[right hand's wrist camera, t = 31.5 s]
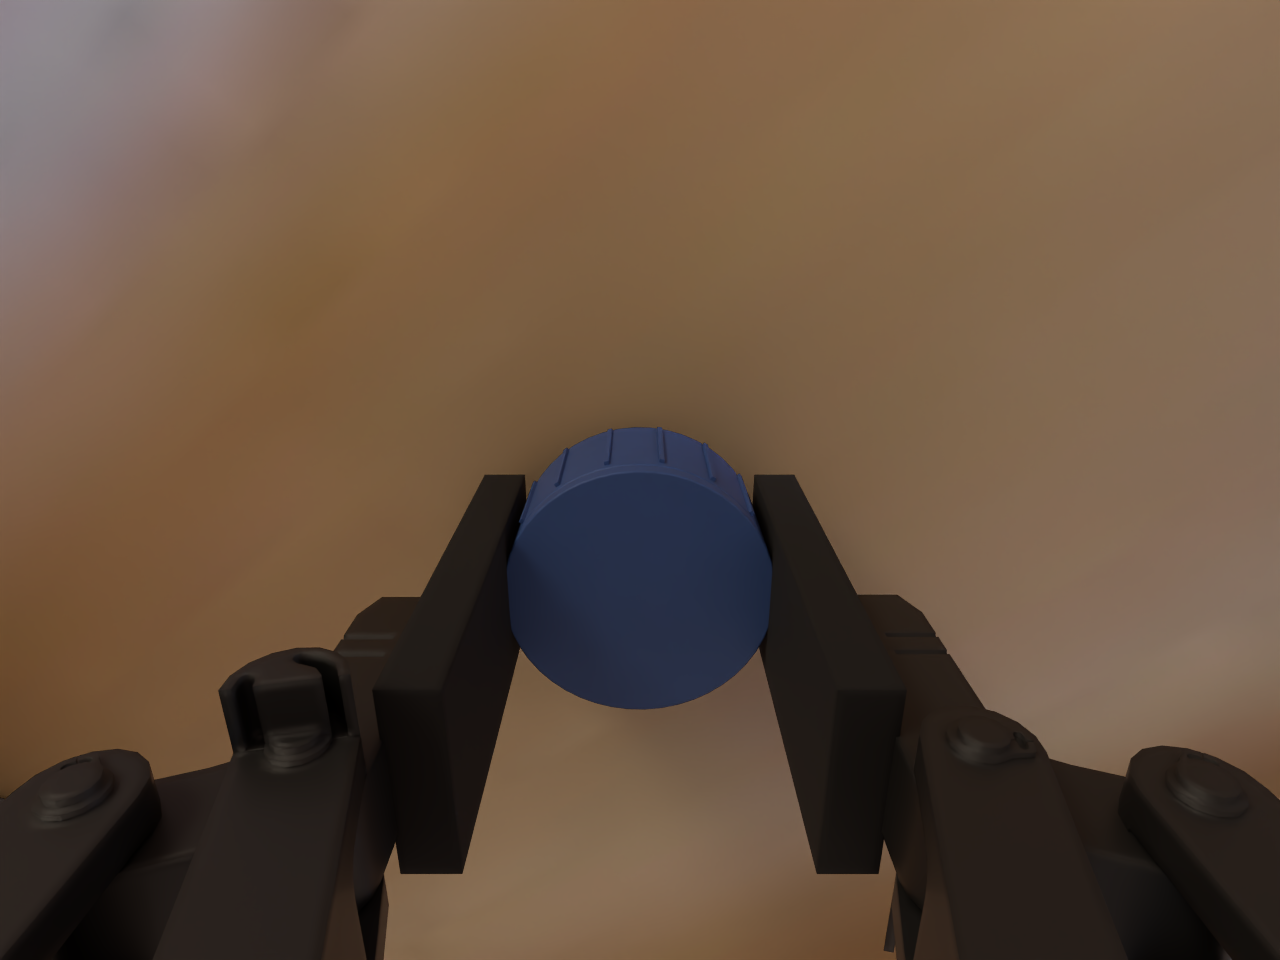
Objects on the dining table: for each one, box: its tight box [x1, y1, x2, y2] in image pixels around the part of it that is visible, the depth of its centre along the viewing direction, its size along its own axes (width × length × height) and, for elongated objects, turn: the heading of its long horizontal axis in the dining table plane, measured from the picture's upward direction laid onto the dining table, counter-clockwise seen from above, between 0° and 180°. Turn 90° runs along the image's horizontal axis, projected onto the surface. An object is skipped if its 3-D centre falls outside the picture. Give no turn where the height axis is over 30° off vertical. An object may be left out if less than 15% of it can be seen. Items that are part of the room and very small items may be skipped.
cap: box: [507, 427, 772, 709], centre depth 14 cm, size 4×4×2 cm
